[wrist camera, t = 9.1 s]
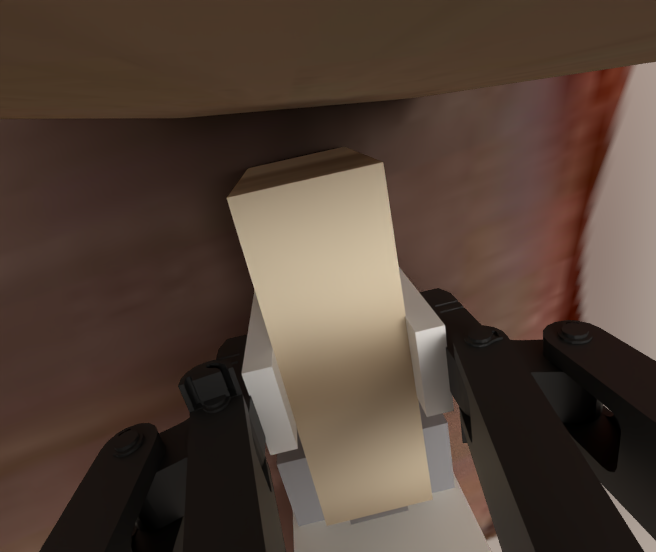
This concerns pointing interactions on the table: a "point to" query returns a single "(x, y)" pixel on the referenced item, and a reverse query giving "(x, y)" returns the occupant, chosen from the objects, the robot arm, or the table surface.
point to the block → (295, 51)
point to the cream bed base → (393, 530)
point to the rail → (337, 326)
